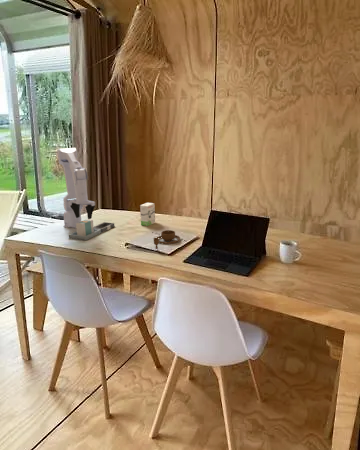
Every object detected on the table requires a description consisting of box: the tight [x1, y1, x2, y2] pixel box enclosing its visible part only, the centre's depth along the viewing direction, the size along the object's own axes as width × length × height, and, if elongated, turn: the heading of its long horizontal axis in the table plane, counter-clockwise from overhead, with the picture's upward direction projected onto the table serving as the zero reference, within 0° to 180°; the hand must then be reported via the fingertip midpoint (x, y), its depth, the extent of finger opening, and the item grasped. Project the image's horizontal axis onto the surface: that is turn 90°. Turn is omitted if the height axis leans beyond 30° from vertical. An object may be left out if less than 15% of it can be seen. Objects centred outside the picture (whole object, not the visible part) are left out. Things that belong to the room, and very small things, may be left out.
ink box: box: [139, 202, 156, 227], centre depth 212 cm, size 9×5×12 cm, turn 153°
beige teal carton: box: [75, 218, 94, 236], centre depth 194 cm, size 4×9×7 cm, turn 157°
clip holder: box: [93, 221, 115, 233], centre depth 206 cm, size 7×12×2 cm, turn 157°
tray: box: [68, 229, 102, 241], centre depth 194 cm, size 11×14×2 cm
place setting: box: [153, 229, 181, 250], centre depth 181 cm, size 18×20×6 cm
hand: (83, 218), depth 192 cm, fingers open, 7 cm apart
